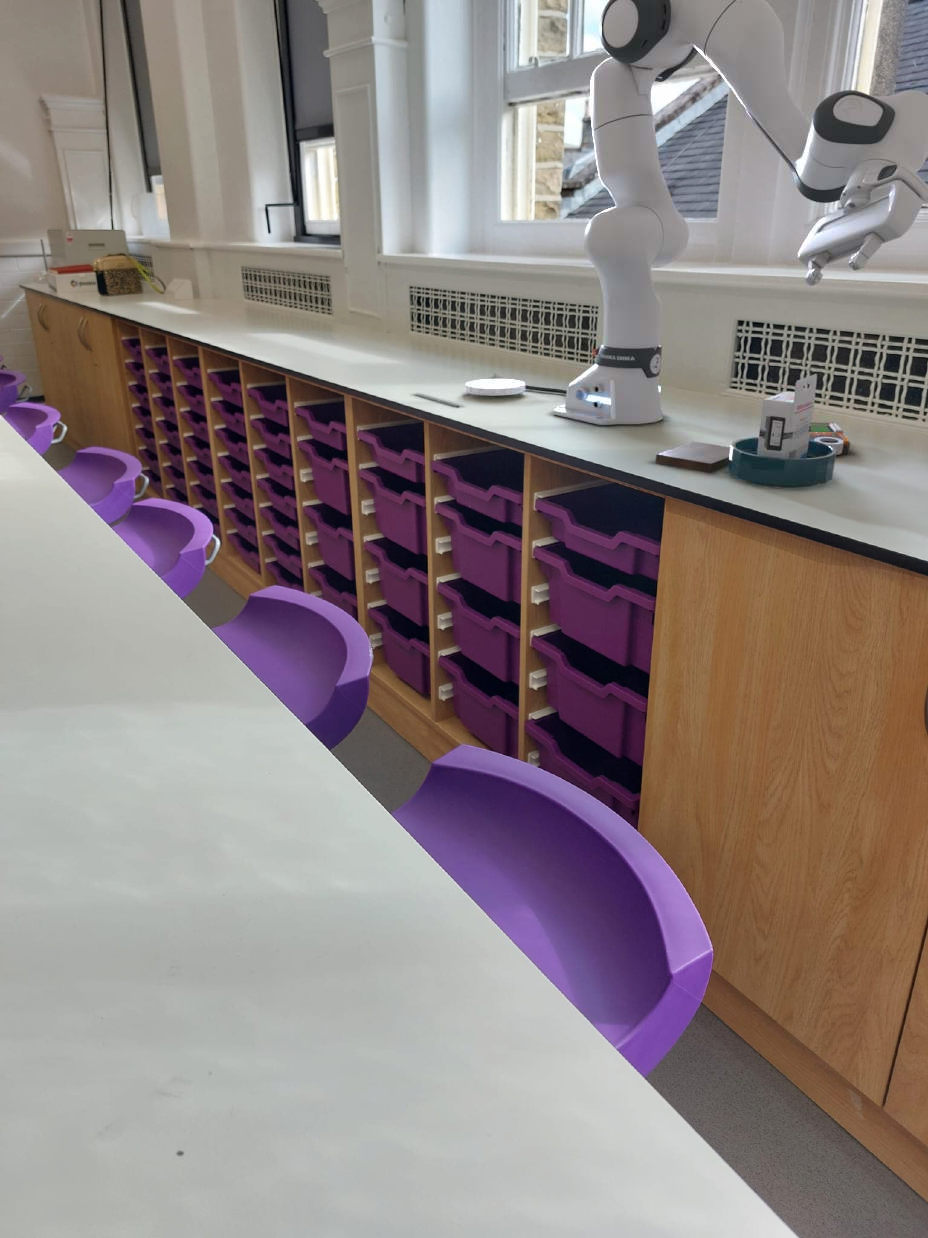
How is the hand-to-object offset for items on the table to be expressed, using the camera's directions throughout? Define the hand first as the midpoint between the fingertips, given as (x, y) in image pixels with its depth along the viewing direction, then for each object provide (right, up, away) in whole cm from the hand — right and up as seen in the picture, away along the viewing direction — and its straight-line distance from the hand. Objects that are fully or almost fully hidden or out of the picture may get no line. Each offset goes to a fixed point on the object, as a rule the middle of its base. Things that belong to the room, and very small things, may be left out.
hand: (832, 275), depth 133 cm
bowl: (-7, -30, +3) cm, 31 cm away
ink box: (-7, -30, +3) cm, 31 cm away
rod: (-62, -3, +66) cm, 91 cm away
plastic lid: (-49, 0, +72) cm, 87 cm away
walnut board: (-17, -26, +12) cm, 33 cm away
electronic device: (+6, -22, +20) cm, 31 cm away
